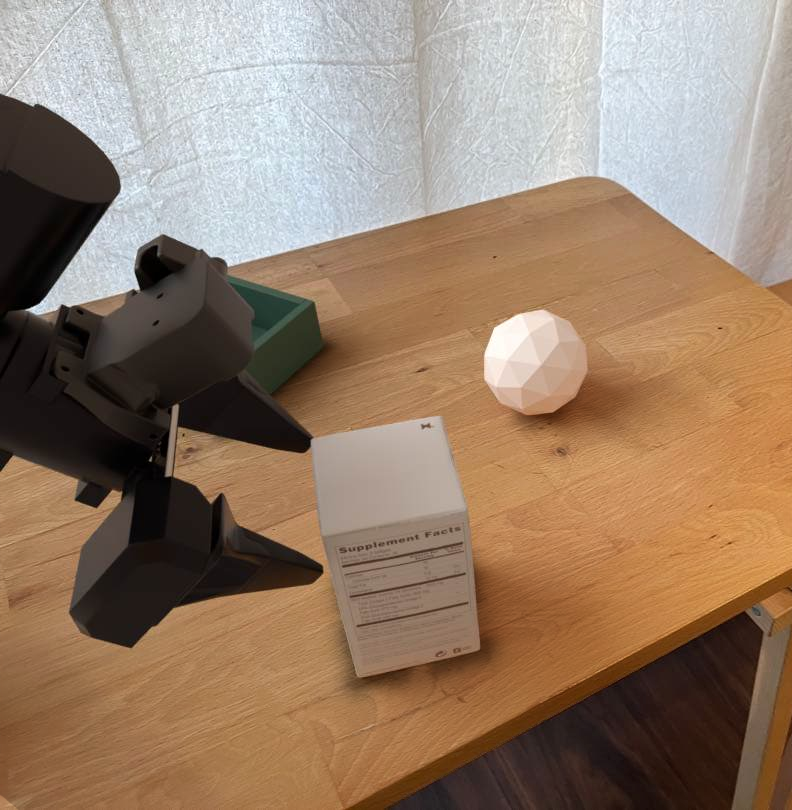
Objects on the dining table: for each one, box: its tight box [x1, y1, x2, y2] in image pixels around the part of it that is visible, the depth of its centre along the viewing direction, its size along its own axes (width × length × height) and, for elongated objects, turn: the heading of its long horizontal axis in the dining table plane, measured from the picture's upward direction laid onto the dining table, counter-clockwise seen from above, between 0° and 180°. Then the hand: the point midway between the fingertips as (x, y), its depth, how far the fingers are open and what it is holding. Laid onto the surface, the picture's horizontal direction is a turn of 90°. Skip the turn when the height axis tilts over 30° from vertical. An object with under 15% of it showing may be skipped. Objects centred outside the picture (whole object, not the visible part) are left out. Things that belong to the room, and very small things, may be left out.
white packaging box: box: [310, 415, 481, 678], centre depth 49 cm, size 7×7×13 cm
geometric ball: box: [483, 309, 589, 416], centre depth 66 cm, size 8×8×8 cm
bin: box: [227, 274, 325, 396], centre depth 70 cm, size 12×12×5 cm
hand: (313, 505), depth 45 cm, fingers open, 9 cm apart
